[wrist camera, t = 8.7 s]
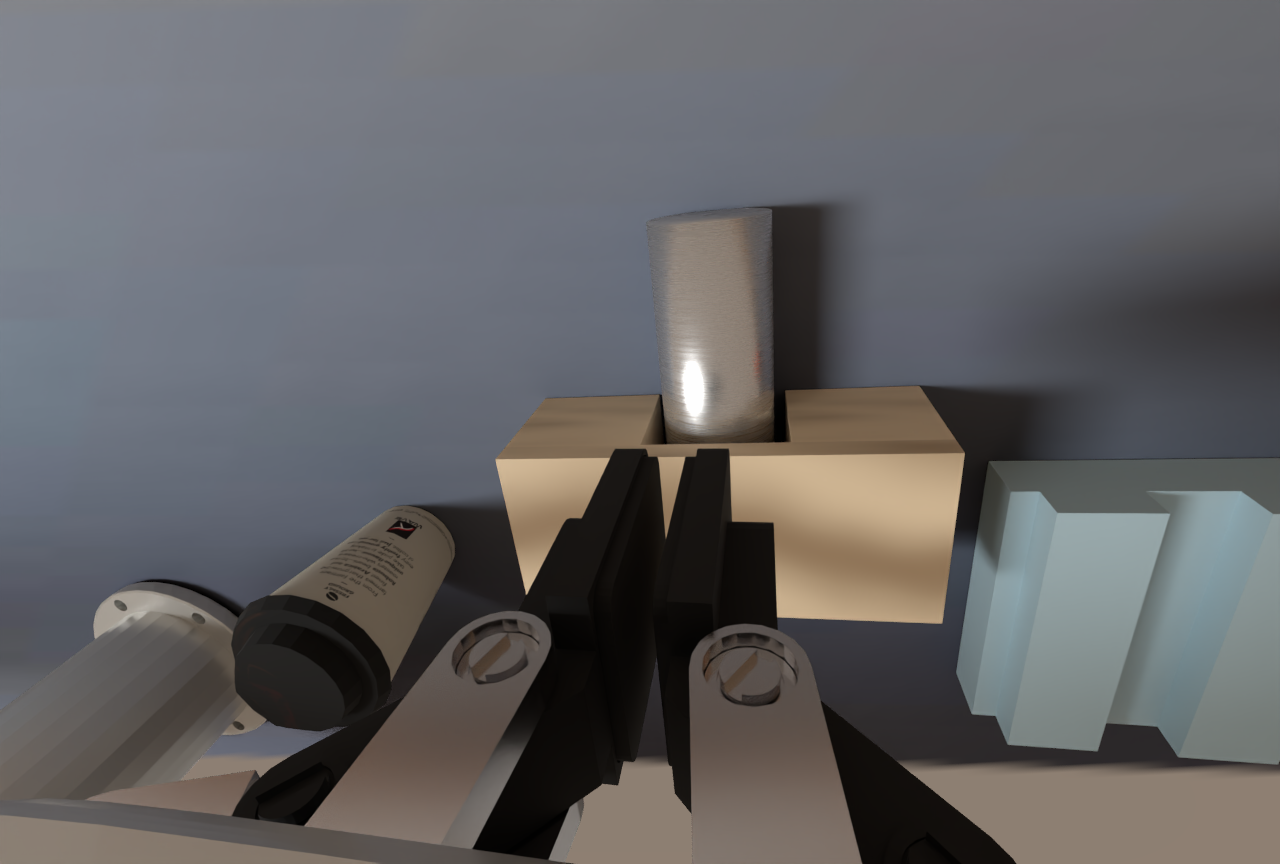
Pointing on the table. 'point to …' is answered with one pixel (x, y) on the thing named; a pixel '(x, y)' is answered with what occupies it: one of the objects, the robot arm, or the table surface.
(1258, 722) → the v block
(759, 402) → the axle
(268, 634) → the coffee cup
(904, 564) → the beam
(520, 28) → the table surface
